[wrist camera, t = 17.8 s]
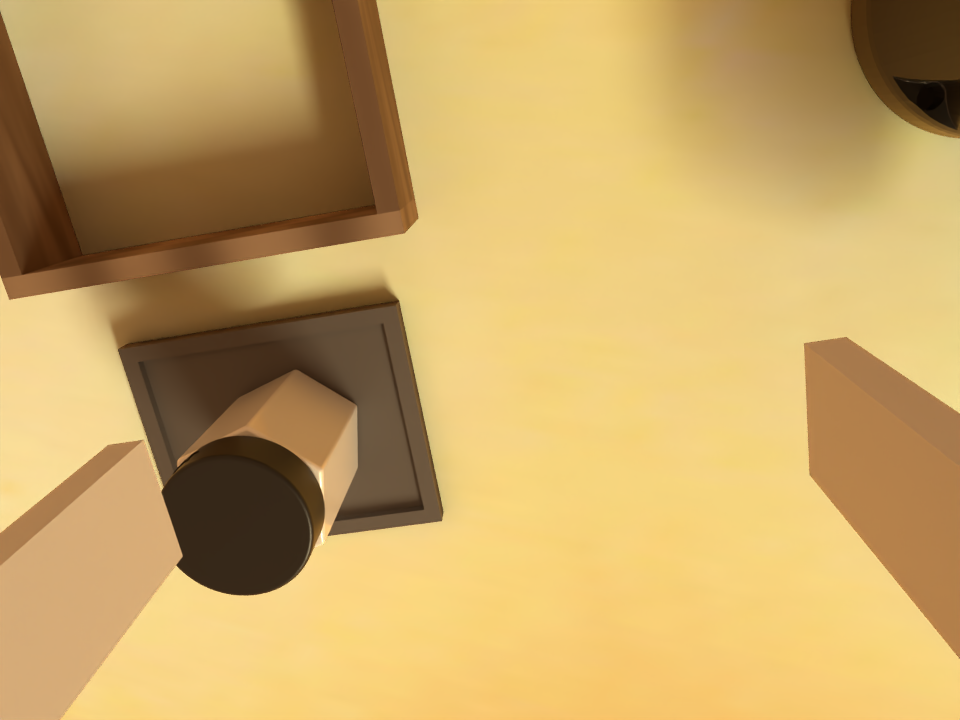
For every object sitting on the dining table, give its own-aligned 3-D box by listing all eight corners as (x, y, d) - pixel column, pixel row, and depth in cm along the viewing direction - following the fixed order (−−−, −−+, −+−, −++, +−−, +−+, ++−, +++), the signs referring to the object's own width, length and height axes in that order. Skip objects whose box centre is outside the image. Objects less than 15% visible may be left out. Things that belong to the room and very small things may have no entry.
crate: (354, -109, 40) (327, -146, 34) (418, 217, 45) (404, 233, 39) (-34, -26, 42) (-120, -48, 36) (70, 277, 47) (9, 299, 41)
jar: (232, 364, 48) (144, 443, 36) (359, 371, 48) (310, 452, 36) (241, 489, 51) (161, 599, 39) (360, 497, 50) (315, 609, 39)
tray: (398, 300, 47) (396, 305, 45) (443, 511, 51) (441, 521, 50) (127, 344, 48) (117, 349, 47) (193, 544, 53) (186, 554, 52)
